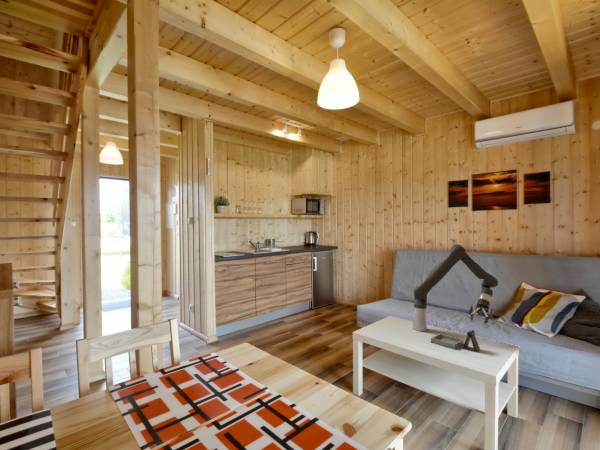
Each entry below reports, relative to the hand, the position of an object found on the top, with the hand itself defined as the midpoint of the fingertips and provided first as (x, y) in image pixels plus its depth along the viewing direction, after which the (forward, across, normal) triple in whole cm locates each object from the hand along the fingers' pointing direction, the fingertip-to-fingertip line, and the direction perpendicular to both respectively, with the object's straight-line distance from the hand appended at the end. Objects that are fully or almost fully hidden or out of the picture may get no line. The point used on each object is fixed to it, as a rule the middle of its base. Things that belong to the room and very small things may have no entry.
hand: (478, 321), depth 211 cm
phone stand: (+20, 0, +2) cm, 20 cm away
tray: (+21, -15, +1) cm, 26 cm away
